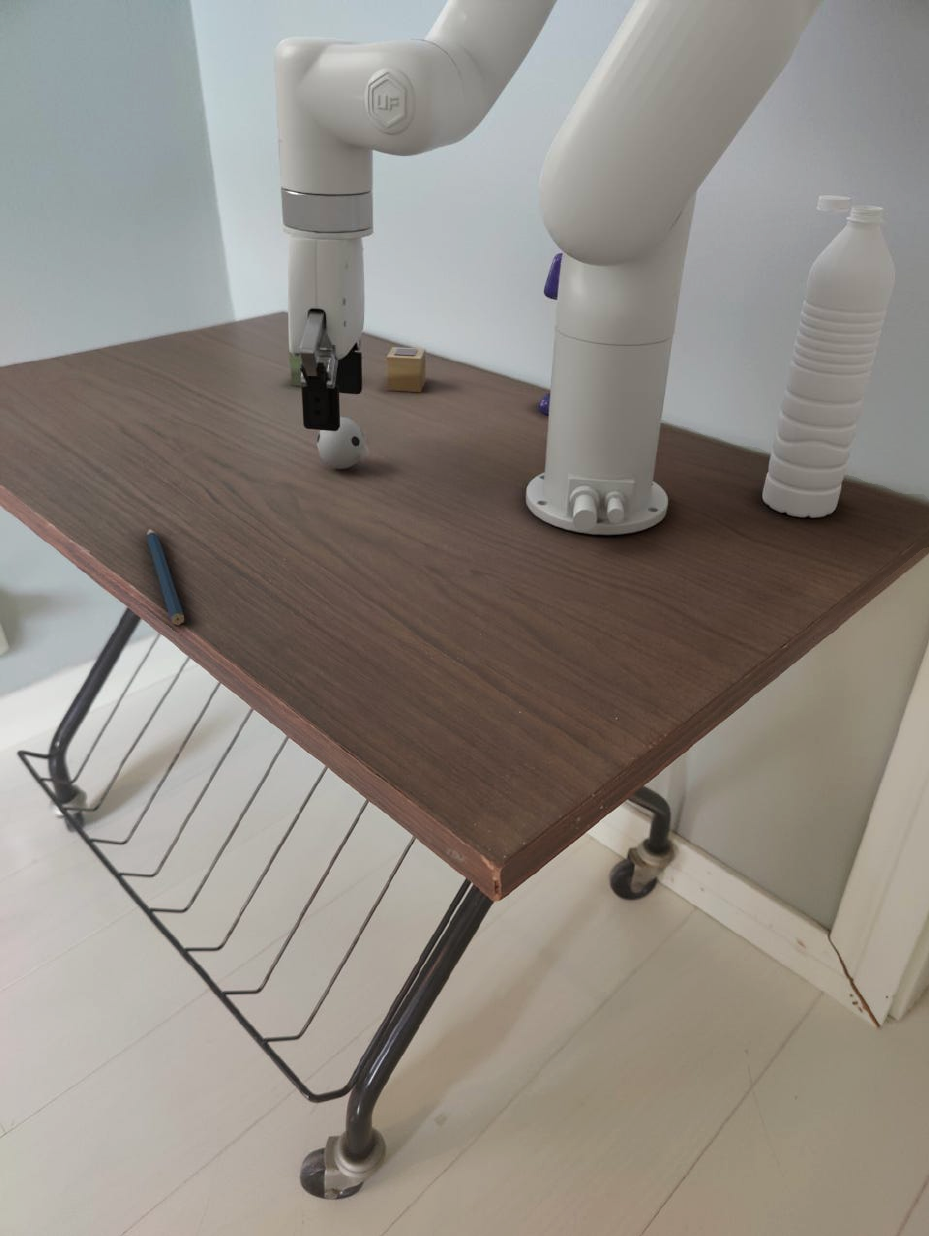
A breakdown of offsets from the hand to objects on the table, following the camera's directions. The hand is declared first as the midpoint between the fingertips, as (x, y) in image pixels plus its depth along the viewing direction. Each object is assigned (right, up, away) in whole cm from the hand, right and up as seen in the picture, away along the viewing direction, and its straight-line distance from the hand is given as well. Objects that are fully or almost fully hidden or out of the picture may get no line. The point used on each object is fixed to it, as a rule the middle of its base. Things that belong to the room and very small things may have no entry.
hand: (334, 409), depth 85 cm
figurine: (+1, -5, +3) cm, 6 cm away
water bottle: (+42, -9, -1) cm, 43 cm away
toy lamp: (+23, +4, +17) cm, 29 cm away
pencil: (-8, -20, -21) cm, 30 cm away
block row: (0, +9, +24) cm, 26 cm away
